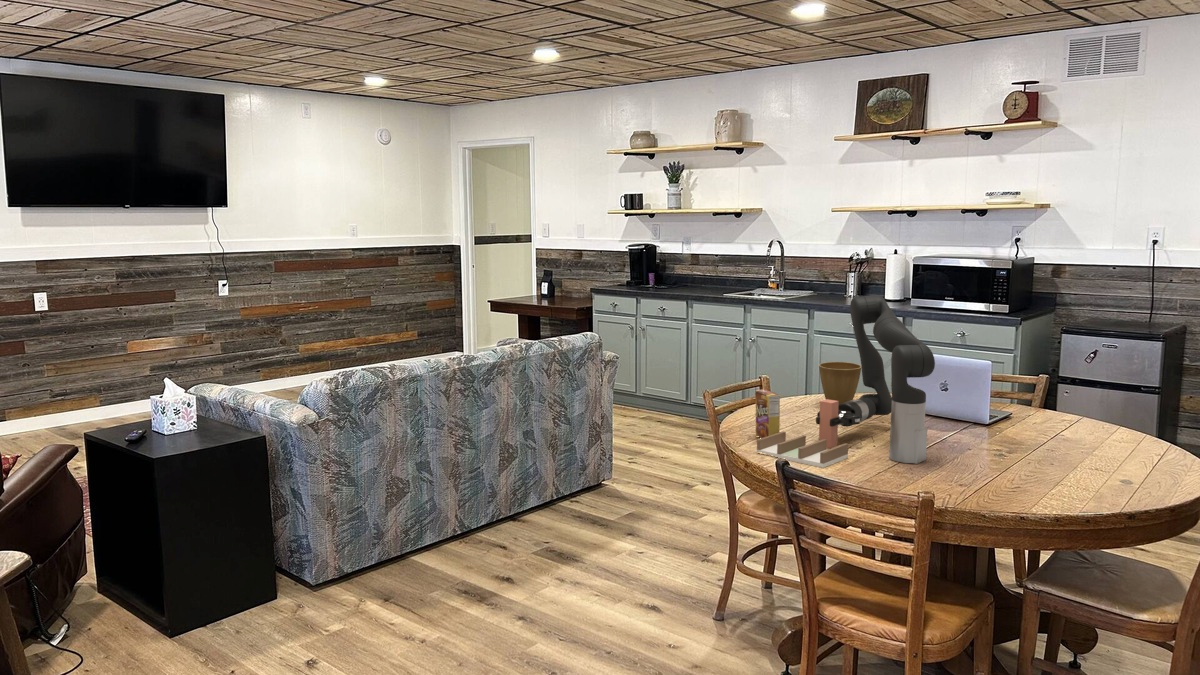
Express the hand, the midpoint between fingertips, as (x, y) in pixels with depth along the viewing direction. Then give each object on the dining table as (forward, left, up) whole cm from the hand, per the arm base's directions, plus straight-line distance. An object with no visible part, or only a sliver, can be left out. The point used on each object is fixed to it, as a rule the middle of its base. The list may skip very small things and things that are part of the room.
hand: (824, 421), depth 265 cm
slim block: (0, -3, -8) cm, 8 cm away
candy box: (+18, +3, -8) cm, 20 cm away
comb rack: (0, +12, -8) cm, 15 cm away
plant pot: (+24, -53, -8) cm, 59 cm away
